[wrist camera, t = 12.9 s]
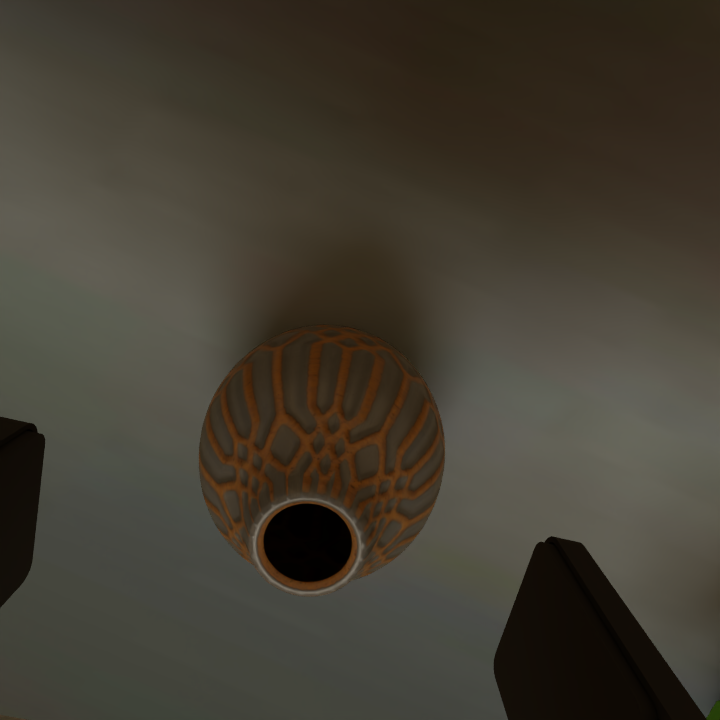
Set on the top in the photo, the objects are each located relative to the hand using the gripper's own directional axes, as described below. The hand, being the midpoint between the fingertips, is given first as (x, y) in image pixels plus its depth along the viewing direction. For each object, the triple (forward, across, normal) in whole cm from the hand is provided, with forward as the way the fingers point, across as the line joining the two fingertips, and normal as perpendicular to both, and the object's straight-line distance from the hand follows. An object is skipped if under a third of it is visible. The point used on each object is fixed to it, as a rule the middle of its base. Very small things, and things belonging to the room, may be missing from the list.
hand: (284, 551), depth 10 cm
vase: (+10, -1, 0) cm, 10 cm away
